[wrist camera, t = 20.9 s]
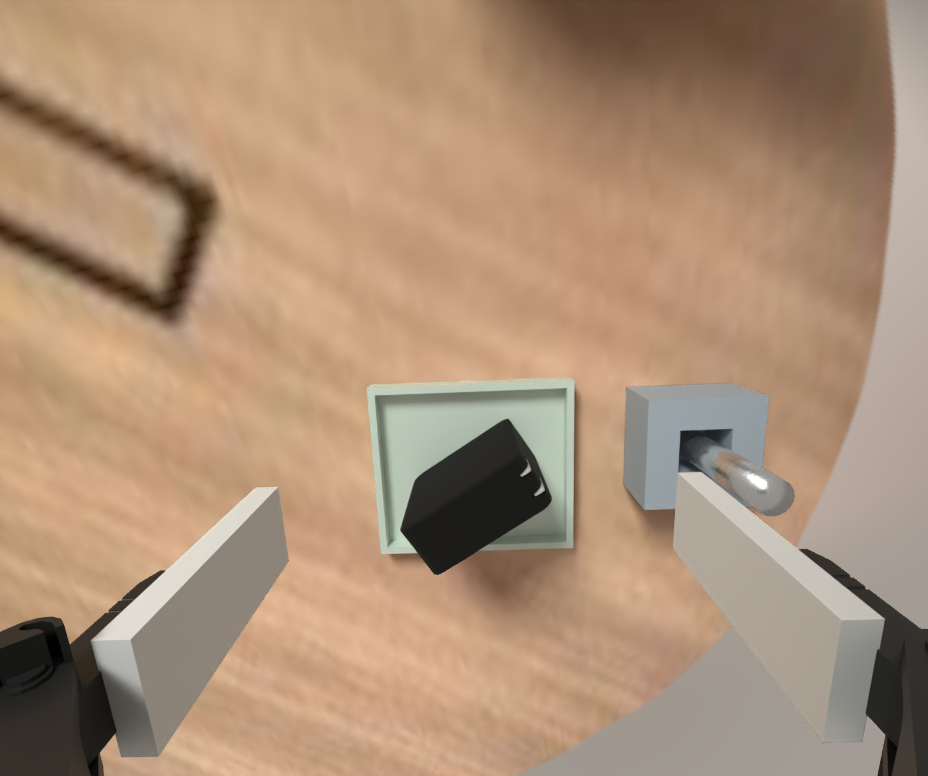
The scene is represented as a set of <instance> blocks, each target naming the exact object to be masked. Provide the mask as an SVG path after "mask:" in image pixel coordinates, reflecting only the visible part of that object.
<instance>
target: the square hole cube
mask: <svg viewBox="0 0 928 776" xmlns="http://www.w3.org/2000/svg"><path fill="white" fill-rule="evenodd" d="M768 402H769V395H766V394H763V393H760V392H757V391H754V390H751V389H748V388H745V387H742V386H739V385H736V384H733V383H719V384H693V385H667V386H641V387H626V413H625V445H624V477H623V485H624V486H625V487H626V488H627V489H628V491H629V492H630V493H631V494H632V496H633V497H634V498H635V499H636V500H637V502H638V503H639V504H640V505H641V507H642V508H643V509H644V510H661V509H675V506H676V490H677V474H678V473H685V472H702V473H703V474H705V475H706V476H707V477H708V478H710V479H711V480H712V481H713V482H715V483H716V484H717V485H718V486H720V487H721V488H722V489H723V490H725V491H726V492H727V493H728V494H730V495H731V496H732V497H733V498H735V499H736V500H737V501H738V502H740V503H741V504H742V505H743V506H745V507H751V506H750V505H749V504H748V503H746V502H745V501H743V500H742V499H741V498H739V497H738V496H736V495H735V494H734V493H732V492H731V491H729V490H728V489H727V488H725V487H724V486H723V485H721V484H720V483H718V482H717V481H716V480H714V479H713V478H711V477H710V476H709V475H707V474H706V473H704V472H703V471H702V470H700V469H699V468H697V467H696V466H695V465H693V464H692V463H690V462H689V461H688V460H686V459H685V458H683V457H682V456H681V455H679V447H680V431H685V430H696V431H698V432H699V433H701V434H703V435H705V436H706V437H708V438H710V439H712V440H714V441H715V442H717V443H719V444H721V445H723V446H724V447H726V448H728V449H730V450H731V451H733V452H735V453H737V454H739V455H740V456H742V457H744V458H746V459H748V460H749V461H751V462H753V463H755V464H756V465H758V466H760V467H762V465H763V454H764V444H765V433H766V423H767V413H768Z"/></svg>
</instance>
